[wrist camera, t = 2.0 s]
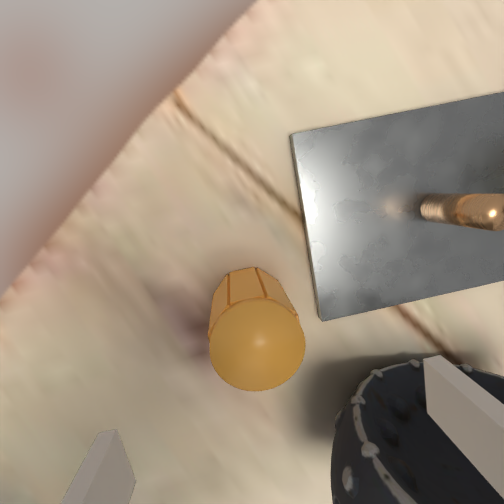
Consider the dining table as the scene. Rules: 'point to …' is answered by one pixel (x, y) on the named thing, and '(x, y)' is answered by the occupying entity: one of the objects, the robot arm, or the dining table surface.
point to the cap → (254, 331)
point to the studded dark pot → (403, 444)
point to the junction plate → (403, 205)
